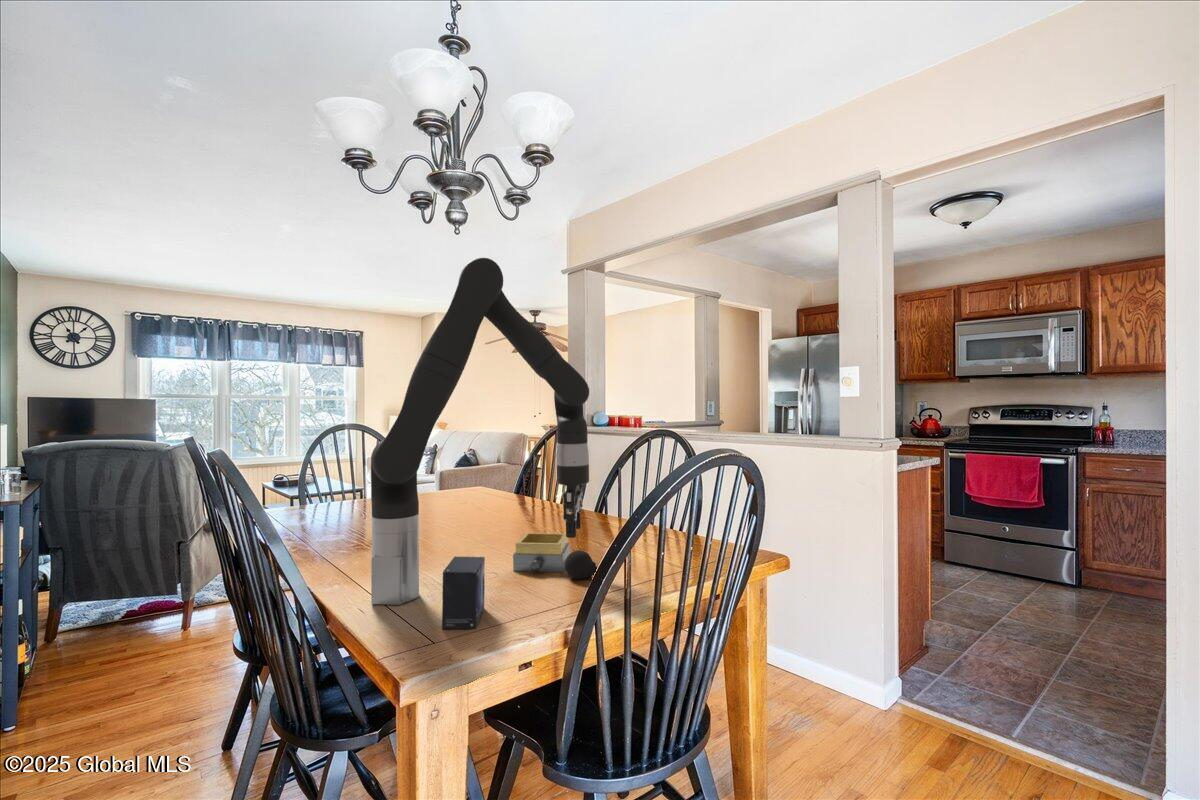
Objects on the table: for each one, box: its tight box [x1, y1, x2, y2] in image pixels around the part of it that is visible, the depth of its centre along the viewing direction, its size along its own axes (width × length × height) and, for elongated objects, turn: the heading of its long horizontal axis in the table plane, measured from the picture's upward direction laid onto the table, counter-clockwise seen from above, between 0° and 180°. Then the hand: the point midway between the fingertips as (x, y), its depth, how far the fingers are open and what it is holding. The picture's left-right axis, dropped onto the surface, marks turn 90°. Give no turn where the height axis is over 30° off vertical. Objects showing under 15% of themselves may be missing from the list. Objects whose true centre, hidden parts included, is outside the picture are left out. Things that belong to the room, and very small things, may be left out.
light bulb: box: [564, 549, 598, 580], centre depth 132 cm, size 6×6×10 cm
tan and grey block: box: [512, 532, 571, 573], centre depth 142 cm, size 15×12×6 cm
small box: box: [441, 556, 486, 630], centre depth 108 cm, size 11×6×10 cm, turn 3°
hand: (573, 532), depth 132 cm, fingers open, 8 cm apart
